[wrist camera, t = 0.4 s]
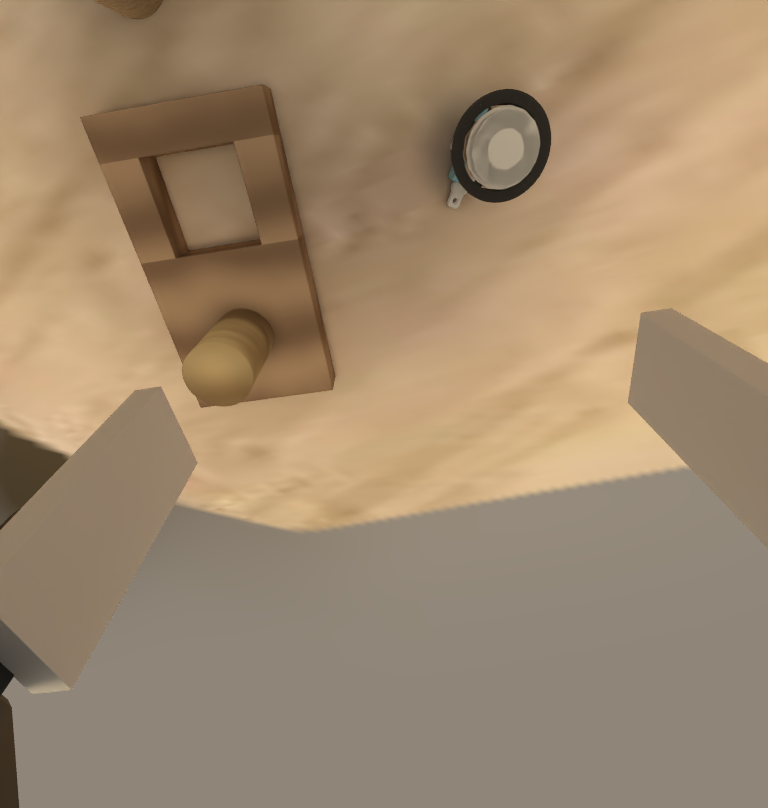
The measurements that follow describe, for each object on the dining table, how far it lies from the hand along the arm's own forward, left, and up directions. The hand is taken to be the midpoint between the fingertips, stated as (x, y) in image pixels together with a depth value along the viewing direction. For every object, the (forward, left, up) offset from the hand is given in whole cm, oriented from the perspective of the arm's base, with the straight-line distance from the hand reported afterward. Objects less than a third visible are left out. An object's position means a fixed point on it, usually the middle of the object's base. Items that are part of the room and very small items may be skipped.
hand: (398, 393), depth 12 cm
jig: (+1, -12, -26) cm, 29 cm away
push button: (-4, +7, -26) cm, 27 cm away
